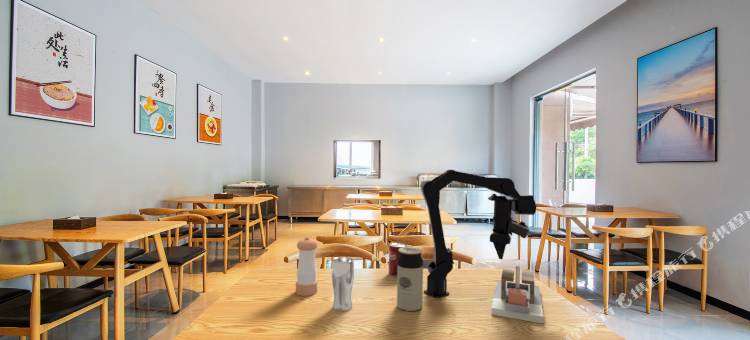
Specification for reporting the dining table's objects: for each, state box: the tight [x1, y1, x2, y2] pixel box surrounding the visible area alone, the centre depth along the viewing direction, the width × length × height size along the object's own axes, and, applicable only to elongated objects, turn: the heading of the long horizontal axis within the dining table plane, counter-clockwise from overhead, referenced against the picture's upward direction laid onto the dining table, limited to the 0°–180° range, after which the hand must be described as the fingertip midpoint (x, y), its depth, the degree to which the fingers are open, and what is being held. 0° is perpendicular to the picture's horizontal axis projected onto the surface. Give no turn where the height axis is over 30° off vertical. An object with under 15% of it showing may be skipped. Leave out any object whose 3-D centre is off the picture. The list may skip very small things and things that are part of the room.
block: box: [508, 288, 527, 306], centre depth 102 cm, size 5×5×5 cm
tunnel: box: [500, 268, 535, 304], centre depth 112 cm, size 10×10×7 cm
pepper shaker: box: [295, 236, 318, 297], centre depth 118 cm, size 7×7×19 cm
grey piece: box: [505, 266, 529, 314], centre depth 103 cm, size 8×7×11 cm
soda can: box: [388, 242, 408, 277], centre depth 139 cm, size 7×7×12 cm
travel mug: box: [396, 246, 424, 312], centre depth 107 cm, size 8×8×18 cm
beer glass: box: [331, 256, 355, 312], centre depth 106 cm, size 7×7×15 cm
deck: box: [491, 280, 545, 324], centre depth 112 cm, size 27×14×2 cm, turn 157°
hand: (500, 258), depth 118 cm, fingers closed
